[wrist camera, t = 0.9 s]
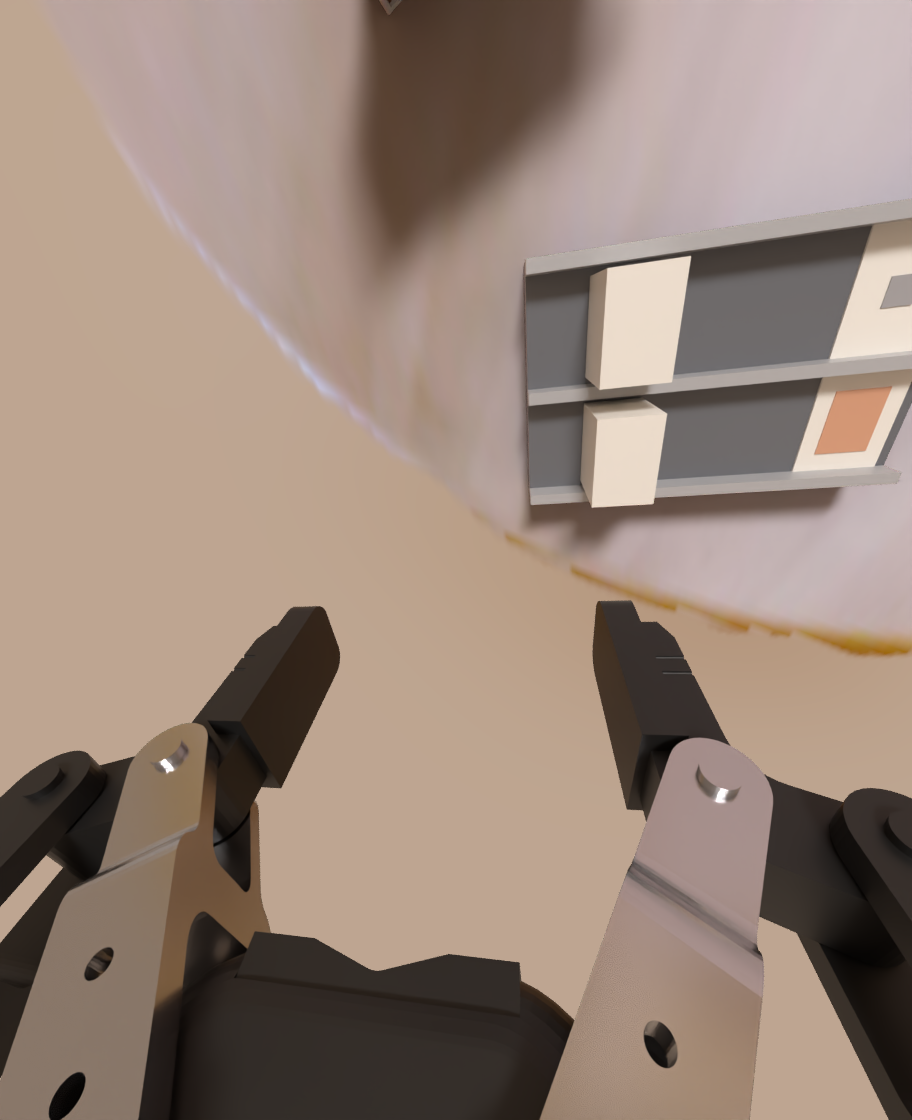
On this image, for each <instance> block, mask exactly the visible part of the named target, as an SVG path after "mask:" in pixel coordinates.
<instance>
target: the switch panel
mask: <svg viewBox="0 0 912 1120" xmlns="http://www.w3.org/2000/svg"><path fill="white" fill-rule="evenodd" d="M687 256H691V261H690V267H689V274H688V280H687V287H686V293H685V300H684V307H683V313H682V320H681V326H680V333H679V339H678V346H677V353H676V359H675V366H674V372H673V379H672V382H671V383H661V384H651V385H641V386H631V387H622V388H612V389H602V390H599V389H598V388H597V387H596V386H595V385H593V384H592V383H591V382H590V381H589V380H588V379H587V378H585V371H586V350H587V329H588V309H589V288H590V276H591V275H594V274H596V273H598V272H600V271H602V270H605V269H607V268H612V267H619V266H625V265H632V264H639V263H646V262H653V261H659V260H666V259H673V258H680V257H687ZM524 297H525V342H526V387H527V433H528V478H529V493H530V503H531V505H540V504H557V503H574V502H589V500H588V497H587V495H586V493H585V490H584V488H583V485H582V483H581V481H580V475H581V454H582V434H583V413H584V403H591V402H602V401H612V400H623V399H633V398H644V399H645V400H647V401H648V402H650V403H651V404H653V405H655V406H656V407H658V408H659V409H661V410H662V411H664V412H665V413H667V418H666V425H665V432H664V438H663V445H662V451H661V458H660V464H659V471H658V478H657V484H656V491H655V497H654V498H660V497H677V496H694V495H711V494H728V493H745V492H762V491H779V490H796V489H814V488H831V487H848V486H865V485H882V484H897V482H898V480H899V478H900V475H901V472H899V471H896V470H894V469H892V468H889V467H887V466H884V463H885V461H886V459H887V456H888V454H889V452H890V450H891V448H892V445H893V443H894V441H895V439H896V436H897V434H898V432H899V430H900V428H901V425H902V423H903V421H904V419H905V416H906V414H907V412H908V410H909V408H910V405H911V403H912V199H906V200H900V201H893V202H887V203H880V204H874V205H867V206H861V207H854V208H848V209H842V210H835V211H829V212H822V213H816V214H809V215H803V216H796V217H790V218H784V219H777V220H771V221H764V222H758V223H751V224H745V225H738V226H732V227H726V228H719V229H713V230H706V231H700V232H693V233H687V234H680V235H674V236H668V237H661V238H655V239H648V240H642V241H635V242H629V243H622V244H616V245H610V246H603V247H597V248H590V249H584V250H577V251H571V252H564V253H558V254H552V255H545V256H539V257H532V258H526V260H525V263H524Z"/></svg>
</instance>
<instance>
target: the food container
mask: <svg viewBox="0 0 912 1120" xmlns="http://www.w3.org/2000/svg"><path fill="white" fill-rule="evenodd" d="M401 1H402V0H379V2H380V3H381V5H382V6H383V8H384V10H385V11H386V13H387V14H388V16H389V15H390V14H391V13H392V11H393V10H394V9H395V8H396V7H397V6H398V4H399V3H400V2H401Z"/></svg>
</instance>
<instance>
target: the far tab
mask: <svg viewBox="0 0 912 1120" xmlns="http://www.w3.org/2000/svg"><path fill="white" fill-rule="evenodd" d="M666 418H667V413H665V412H664V411H662V410H661V409H659V408H658V407H656V406H655V405H653V404H651V403H650V402H648V401H647V400H645V399H644V398H633V399H623V400H612V401H602V402H591V403H584V413H583V434H582V454H581V475H580V481H581V483H582V485H583V488H584V490H585V493H586V495H587V497H588V500H589V502H590V505H591V507H592V508H593V507H611V506H629V505H646V504H654V497H655V491H656V484H657V478H658V471H659V464H660V458H661V451H662V445H663V438H664V432H665V425H666Z"/></svg>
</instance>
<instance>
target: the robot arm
mask: <svg viewBox="0 0 912 1120" xmlns="http://www.w3.org/2000/svg"><path fill="white" fill-rule="evenodd" d="M339 663H340V651H339V647H338V644H337V641H336V639H335V636H334V633H333V630H332V628H331V625H330V622H329V619H328V616H327V614H326V611H325V610H324V608H322V607H320V606H313V607H293V608H291V609H290V610H289V611H288V612H287V614H286V615H285V616H284V617H283V619H282V620H281V622H280V623H279V624H278V626H273V627H272V628H271V629H269V630H268V631H267V632H265V633H264V634H263V635H261V636H260V637H259V638H258V639H256V641H255V642H254V643H253V644H252V646H251V647H250V648H249V650H248V651H247V652H246V654H245V655H244V658H242V659H241V660H240V661H239V662H238V664H237V665H236V666H235V668H234V671H231V673H230V674H229V675H228V677H227V678H226V679H225V680H224V682H223V683H222V685H221V686H220V687H219V688H218V690H217V691H216V692H215V693H214V695H213V696H212V697H211V699H210V700H209V701H208V702H207V704H206V705H205V706H204V708H203V709H202V710H201V711H200V713H199V714H198V715H197V717H196V718H195V719H194V721H193V722H192V723H186V724H181V725H178V726H175V727H173V728H170V729H168V730H166V731H164V732H162V733H161V734H159V735H158V736H156V737H155V738H153V739H152V740H151V741H150V742H148V743H147V744H146V745H145V746H144V747H143V748H142V749H141V750H140V751H139V753H137V755H136V756H135V757H130V758H127V759H123V760H119V761H115V762H112V763H108V764H104V765H98V764H97V762H96V761H95V760H94V759H93V758H92V757H91V756H89V754H88V753H86V752H83V751H72V752H67V753H64V754H61V755H58V756H56V757H54V758H52V759H49V760H48V761H46V762H44V763H42V764H40V765H39V766H37V767H36V768H34V769H33V770H31V771H30V772H29V773H28V774H26V775H25V776H23V777H22V778H21V779H20V780H19V781H18V782H17V783H15V784H14V785H13V786H12V787H11V788H10V789H9V790H8V791H7V792H6V793H5V794H4V795H3V796H2V797H0V906H1V905H2V904H3V903H4V902H5V901H6V900H7V898H8V897H9V896H10V895H11V894H12V893H13V892H14V891H15V890H16V888H17V887H18V886H19V885H20V884H21V883H22V882H23V880H24V879H25V878H26V877H27V876H28V875H29V874H30V873H31V871H32V870H33V869H34V868H35V867H36V866H37V865H38V863H39V862H40V861H41V860H42V859H43V858H44V857H45V856H46V855H47V856H48V857H50V858H51V859H52V860H54V861H55V862H56V863H58V864H59V865H61V866H62V867H63V869H62V870H61V871H60V872H59V873H58V875H57V876H56V877H55V878H54V879H53V880H52V882H51V883H50V884H49V885H48V886H47V888H46V889H45V890H44V891H43V893H42V894H41V895H40V896H39V897H38V899H37V900H36V901H35V902H34V903H33V904H32V906H31V907H30V908H29V909H28V910H27V912H26V913H25V914H24V915H23V916H22V918H21V919H20V920H19V921H18V922H17V924H16V925H15V926H14V927H13V928H12V930H11V931H10V932H9V933H8V934H7V936H6V937H5V938H4V939H3V941H2V942H1V943H0V1078H1V1080H0V1120H750V1111H751V1101H752V1091H753V1083H754V1073H755V1064H756V1054H757V1045H758V1036H759V1025H760V1016H761V1007H762V997H763V984H764V964H763V958H762V954H761V953H760V951H759V950H758V947H757V930H758V921H759V917H762V918H764V919H766V920H769V921H771V922H773V923H775V924H778V925H780V926H782V927H785V928H787V929H789V930H791V931H794V932H796V933H797V934H798V936H799V938H800V940H801V942H802V944H803V947H804V948H805V951H806V953H807V955H808V957H809V959H810V961H811V963H812V964H813V967H814V969H815V971H816V973H817V975H818V977H819V979H820V981H821V983H822V985H823V987H824V989H825V991H826V993H827V995H828V997H829V999H830V1001H831V1003H832V1005H833V1007H834V1009H835V1011H836V1013H837V1015H838V1017H839V1019H840V1021H841V1023H842V1026H843V1028H844V1030H845V1032H846V1034H847V1036H848V1038H849V1039H850V1042H851V1043H852V1046H853V1048H854V1050H855V1052H856V1054H857V1056H858V1058H859V1060H860V1062H861V1064H862V1066H863V1068H864V1070H865V1072H866V1074H867V1076H868V1078H869V1080H870V1082H871V1084H872V1086H873V1088H874V1090H875V1092H876V1094H877V1096H878V1098H879V1100H880V1102H881V1105H882V1107H883V1109H884V1111H885V1113H886V1115H887V1117H888V1119H889V1120H912V799H911V798H909V797H907V796H904V795H901V794H898V793H895V792H892V791H888V790H883V789H875V788H867V789H860V790H856V791H854V792H853V793H851V794H850V795H849V796H848V797H847V798H846V799H845V801H844V802H840V801H838V800H834V799H831V798H828V797H825V796H821V795H818V794H815V793H812V792H809V791H805V790H802V789H799V788H795V787H793V786H789V785H787V784H784V783H781V782H778V781H776V780H774V779H772V778H770V777H768V776H766V775H764V774H763V772H762V771H761V770H760V769H759V767H758V766H757V765H756V764H755V763H754V762H753V761H752V760H751V759H749V758H748V757H747V756H746V755H744V754H743V753H741V752H740V751H738V750H737V749H735V748H733V747H731V746H730V744H729V743H728V741H727V739H726V738H725V736H724V734H723V732H722V730H721V729H720V726H719V724H718V722H717V720H716V719H715V716H714V714H713V712H712V710H711V709H710V707H709V704H708V703H707V701H706V699H705V697H704V695H703V693H702V691H701V689H700V687H699V685H698V683H697V681H696V679H695V677H694V676H693V675H692V671H691V669H690V667H689V665H688V663H687V661H686V660H684V655H683V653H682V652H681V650H680V648H679V645H678V643H677V642H676V640H675V638H674V637H673V636H672V635H671V634H670V633H669V632H668V631H667V630H665V629H664V628H663V627H662V626H661V625H660V624H659V623H657V622H641V621H640V619H639V616H638V614H637V612H636V609H635V607H634V605H633V603H632V601H598V603H597V605H596V615H595V627H594V639H593V664H594V672H595V677H596V681H597V685H598V689H599V694H600V698H601V702H602V706H603V711H604V715H605V719H606V723H607V727H608V732H609V736H610V740H611V744H612V749H613V753H614V757H615V761H616V765H617V769H618V774H619V778H620V783H621V787H622V790H623V795H624V799H625V803H626V808H627V809H630V810H643V811H644V815H645V818H646V825H645V828H644V831H643V834H642V837H641V839H640V842H639V845H638V848H637V851H636V853H635V856H634V859H633V862H632V864H631V866H630V867H629V869H628V872H627V874H626V877H625V879H624V882H623V885H622V887H621V890H620V893H619V896H618V898H617V901H616V904H615V907H614V910H613V913H612V916H611V918H610V921H609V924H608V927H607V930H606V933H605V935H604V938H603V941H602V944H601V947H600V950H599V953H598V955H597V958H596V961H595V964H594V967H593V969H592V973H591V975H590V978H589V981H588V984H587V987H586V989H585V992H584V995H583V998H582V1001H581V1004H580V1006H579V1009H578V1013H577V1015H576V1018H575V1021H574V1019H573V1018H571V1016H569V1015H568V1014H567V1013H566V1012H565V1011H564V1010H563V1009H562V1008H561V1007H560V1006H559V1005H558V1004H556V1003H555V1002H554V1001H553V1000H551V999H550V998H549V997H547V996H546V995H544V994H543V993H542V992H540V991H539V990H537V989H535V988H534V987H532V986H530V985H528V984H526V983H524V982H522V981H521V974H520V963H519V962H510V961H502V960H493V959H485V958H477V957H467V956H460V955H452V954H448V955H444V956H439V957H436V958H431V959H427V960H424V961H419V962H415V963H411V964H407V965H402V966H399V967H394V968H390V969H386V970H382V971H374V970H370V969H368V968H366V967H364V966H363V965H361V964H359V963H357V962H356V961H354V960H352V959H350V958H348V957H347V956H345V955H343V954H342V953H340V952H338V951H336V950H334V949H332V948H331V947H329V946H327V945H325V944H324V943H322V942H320V941H319V940H317V939H315V938H308V937H300V936H291V935H283V934H274V933H271V932H270V927H269V923H268V919H267V916H266V914H265V911H264V908H263V904H262V899H261V887H260V851H259V850H260V847H259V810H258V805H257V802H256V801H255V798H256V796H257V794H258V792H259V790H260V789H261V787H270V788H281V787H282V785H283V783H284V781H285V779H286V777H287V775H288V773H289V771H290V769H291V767H292V764H293V762H294V760H295V758H296V756H297V754H298V752H299V750H300V748H301V746H302V743H303V742H304V740H305V737H306V735H307V733H308V731H309V729H310V727H311V725H312V723H313V720H314V719H315V717H316V715H317V712H318V710H319V708H320V706H321V704H322V702H323V700H324V698H325V696H326V693H327V692H328V689H329V687H330V685H331V683H332V681H333V679H334V677H335V675H336V673H337V670H338V667H339ZM1 1076H2V1077H1Z"/></svg>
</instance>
